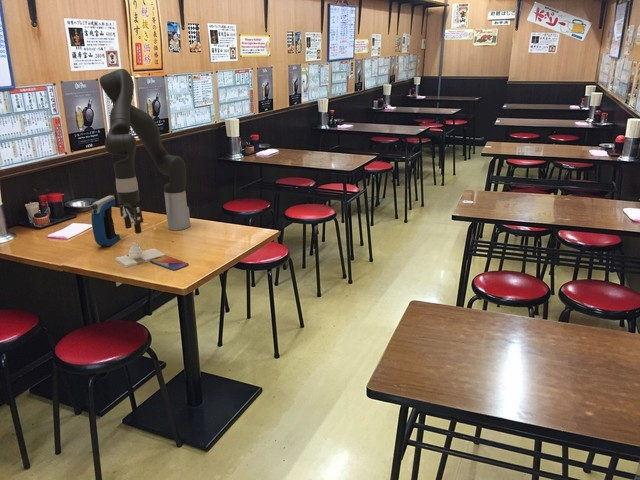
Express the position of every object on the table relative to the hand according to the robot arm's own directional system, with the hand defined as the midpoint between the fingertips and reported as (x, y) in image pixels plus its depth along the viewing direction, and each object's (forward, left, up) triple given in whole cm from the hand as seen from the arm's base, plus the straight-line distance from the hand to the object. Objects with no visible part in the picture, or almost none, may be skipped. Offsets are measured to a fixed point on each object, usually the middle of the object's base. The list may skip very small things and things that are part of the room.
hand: (133, 230), depth 196 cm
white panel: (-2, 0, -12) cm, 12 cm away
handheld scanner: (0, -26, -12) cm, 29 cm away
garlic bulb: (0, 0, -11) cm, 11 cm away
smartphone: (-7, +12, -13) cm, 19 cm away
